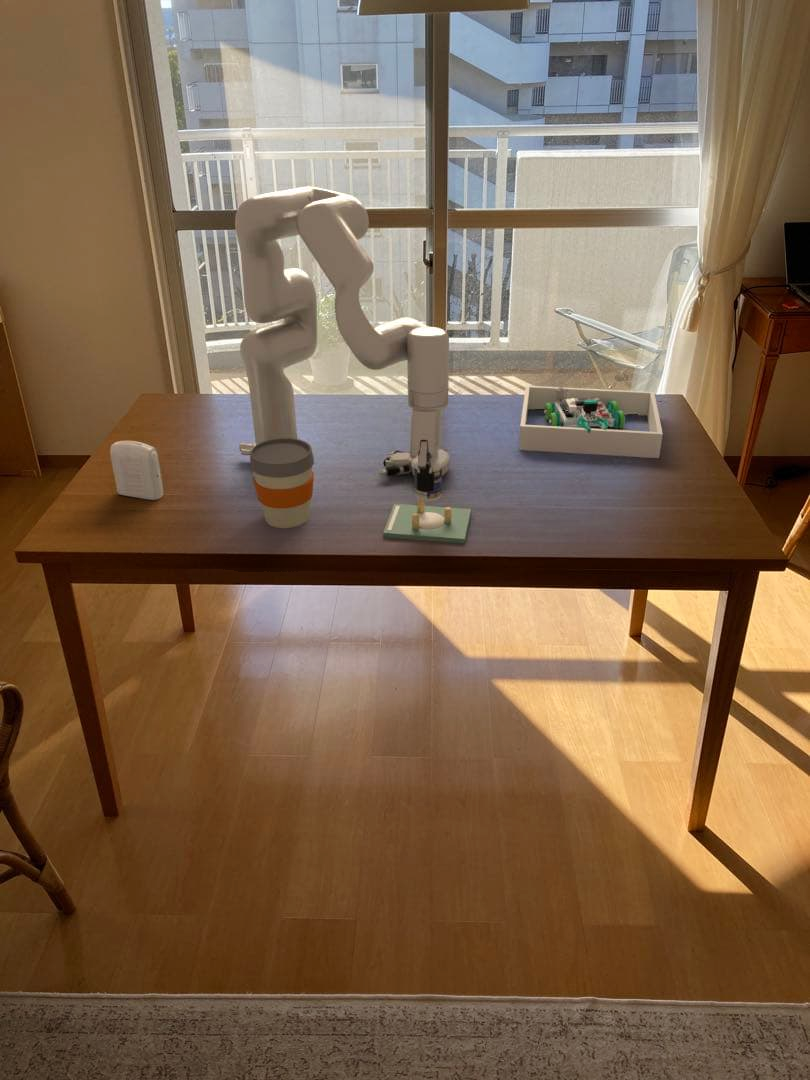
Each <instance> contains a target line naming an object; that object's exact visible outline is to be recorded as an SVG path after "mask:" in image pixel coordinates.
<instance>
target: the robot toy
mask: <svg viewBox="0 0 810 1080" xmlns="http://www.w3.org/2000/svg"><path fill="white" fill-rule="evenodd" d="M451 450H452V447H447V448H446V449H441V448H439V450H438V453H439V457H438V458H439V460H440V461H441V462H442V477H443V476H444V475H445V474H446V473H447V472H448V471H449V469H450V466H451V465H450V462H451V461H450V454H449V453H448V452H447V451H451ZM417 459H418V455H417V457H416V458H414V459H412V458H411V457H410V453H408V452H405V451H401V450H395V451H394V450H393V451H390V452H389V453H388V456H386V458H385V459H384V460H383V467H385V469H384V468H383V469H380V470H379V474H380V476H386V475H387V476H388V477H391V476H392V477H393V476H399V475H400V476H401V475H404V474H406V475H407V474H410V473H412V475H413V476H414V463H415V461H416V460H417Z"/></svg>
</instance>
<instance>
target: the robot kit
mask: <svg viewBox="0 0 810 1080" xmlns="http://www.w3.org/2000/svg"><path fill="white" fill-rule="evenodd" d="M558 387H559V388H558V389H557V390H556V398H557V399H558V400H560V401H561V400H562V403H558V402H556V403H555V404H554V403H552V404H550V403H547V404H546V405H545V410H543V413H544V417H545V419H546V420H547V421H548V423H549V426H557V427H561V425H562V426H563V427H575V428H585V429H587V430H588V432H587V433H591V428H592V427H599V428H600V429H603V430H606V429H608V427H614V428H615V429H617V428H619V429H622V428H624V426H625V423H626V416H625V415H626V414H624V412H623V411H618V404H617V402H616V401H612V402H608V404H607V409H606V407H605V405H604V404H603V402H602V401H600V399H599V398H594V399H593V400H590V399H589V398H571V399H568V398H569V392H568V391H565V390H568V389H564V388H565V387H564V388H563V387H561V386H558ZM566 398H567V399H566ZM559 404H560V405H559ZM562 404H563V405H562ZM561 405H562V406H563V407H562V406H561ZM564 405H565V406H566V407H565V406H564ZM566 409H567V410H568V411H562V410H566Z"/></svg>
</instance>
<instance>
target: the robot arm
mask: <svg viewBox="0 0 810 1080" xmlns="http://www.w3.org/2000/svg"><path fill="white" fill-rule="evenodd" d="M234 224H235V225H234V226H235V227H234V228H235V233H236V238H237V242H238V245H239V250H240V257H241V258H240V259H241V272H242V284H243V285H242V286H243V300H244V308H245V312H246V314H247V316H248V318H249V319H250V320H251V321H252V322H254V323H258V324H267V325H264V326H261V327H257V328H256V329H253V330H251V331H249V332H248V333H247V334H246V335H245V336H244V337H243V338H242V339H241V341H240V346H239V352H240V357H241V361H242V363H243V367H244V370H245V373H246V378H247V383H248V389H249V398H250V405H251V414H252V415H251V416H252V421H253V424H252V425H253V433H254V434H253V435H254V442H253V443H247V442H240V443H239V446H238V449H239V451H240V455H241V456H250V451H251V449H252V448H253V447H254V446H255V445H257V444H259V443H261V442H263V441H266V440H270V439H276V438H294V439H298V427H297V418H296V417H297V415H296V405H295V404H296V402H295V394H294V393H295V392H294V387H293V384H292V383H291V381H290V379H289V378H288V377H287V376H286V375H285V372H284V369H286V368H288V367H291V366H293V365H296V364H299V363H302V362H304V361H306V360H308V359H310V358H312V356H313V355H314V353H315V352H316V350H317V346H318V312H317V311H318V309H317V307H318V306H317V305H318V304H317V302H318V301H317V293H316V289H315V286H314V282H313V281H312V279H311V277H310V276H309V274H308V273H307V272H305V271H304V270H302V269H301V268H298V267H289V268H288V267H287V268H285V257H284V252H283V249H282V247H281V245H280V244H279V242H278V240H281V239H285V238H291V237H296V236H300V238H301V240H302V241H303V242H304V244H305V246H306V247H307V249H308V250H309V252H310V254H311V255H312V256H313V258H314V260H315V261H316V263H317V265H318V266H319V267H320V269H321V271H323V273H324V274H325V276H326V278H327V279H328V280H329V282H330V284H331V285H332V287H333V288H334V292H335V297H334V313H335V319H336V320H335V321H336V325H337V327H338V328H337V329H338V331H339V333H340V335H341V337H342V339H343V341H344V342H345V344H346V345H347V347H348V348H349V350H350V351H351V353H352V355H354V357H355V358H356V360H358V362H359V363H360V364H362V365H363V366H364V367H366V368H367V369H369V370H374V371H378V370H383V369H385V368H388V367H390V366H393V365H395V364H397V363H400V362H401V363H402V362H405V361H407V362H406V363H407V364H406V365H407V405H408V406H409V407H410V408H412V409H411V410H412V411H411V419H410V420H411V421H410V422H411V426H410V449H409V451H410V457H411V458H412V459H414V458H416V457H417V455H418V471H417V490H418V491H430V492H432V491H434V472H433V460H434V459H435V458H436V456H437V453H438V450H439V449H440V447H441V446H440V445H441V443H442V434H443V433H442V432H443V409H445V408H446V407H448V405H449V381H450V380H449V379H450V378H449V377H450V375H449V373H450V372H449V371H450V360H449V359H450V337H449V334H448V332H447V331H446V330H445V329H443V328H441V327H437V326H428V325H426V324H425V323H422V322H420V321H419V320H417V319H415V318H412V317H408V316H403V317H398V318H395V319H393V320H390V321H386V322H383V323H380V324H377V325H375V326H373V324H371V322H370V321H369V320H368V318H367V316H366V314H365V312H364V311H363V309H362V306H361V301H360V291H361V290H360V289H361V288H362V287H363V286H364V285H365V284H366V283H367V282H368V281H369V280H370V278H371V277H372V274H373V273H374V270H375V269H374V263H373V261H372V259H371V258H370V256H369V254H368V253H367V251H366V250H365V249H364V248H363V246H362V244H361V243H360V242H359V240H360V239H361V240H362V238H363V237H364V236H366V234H367V232H368V231H369V225H370V222H369V215H368V212H367V210H366V208H365V205H363V204H362V202H361V201H360V200H358V199H357V198H356V197H354V196H353V195H350V194H347V193H343V192H338V191H334V190H329V189H324V188H320V187H316V186H302V187H296V188H290V189H285V190H276V191H272V192H267V193H263V194H259V195H255V196H252V197H250V198H247V199H246V200H245V201H243V202H241V204H240V205H239V206H238V208H237V210H236V213H235V218H234ZM282 319H283V320H282ZM276 321H277V322H276ZM272 322H275V323H272ZM268 323H271V324H268ZM427 454H430V455H431V457H427ZM438 459H439V458H438ZM427 461H430V464H427Z"/></svg>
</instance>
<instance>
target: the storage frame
mask: <svg viewBox="0 0 810 1080" xmlns="http://www.w3.org/2000/svg"><path fill="white" fill-rule="evenodd" d="M559 387H560V386H542V385H541V386H540V385H539V386H538V385H525V390H524V397H523V402H522V403H523V405H522V409H521V410H522V411H521V418H520V419H521V420H520V424H519V427H520V428H519V440H518V441H519V442H518V450H519V451H533V452H551V453H565V454H581V455H584V454H585V455H601V456H616V457H617V456H618V457H633V458H648V459H649V458H651V459H660V455H661V447H662V442H663V435H664V434H663V428H662V424H661V418H660V413H659V410H658V409H659V408H658V405H657V404H658V403H657V399H656V393H655V391H646V390H645V391H644V390H643V391H642V390H641V391H640V390H624V389H623V390H622V389H621V390H620V389H602V388H601V389H600V388H599V389H598V388H583V387H563V388H564V389H568V390H565V391H568V392H569V398H568V399H571V398H589V399H590V400H593V399H594V398H599V399H600V401H602V402H603V404H604V405H605V407H606V409H607V404H608V402H612V401H616V402H617V404H618V411H623V412H624V413H627V414H626V415H628V414H638V415H637V416H646V417H647V422H648V427H649V431H645V430H643V431H642V430H630V429H629V430H628V429H625V430H623V429H608V428H607V429H606V430H603V428H594V427H593V428H592V427H590V428H591V433H587V432H588V430H587V429H585V428H580V427H564V426H560V427H557V426H550V425H535V424H527V421H528V413H529V410H534V409H545V405H546V404H547V403H550V404H552V403H554V404H555V403H556V402H558V403H562V400H561V401H560V400H558V399H557V398H556V390H557V389H558V388H559ZM566 399H567V398H566ZM559 405H560V404H559ZM562 405H563V404H562ZM562 405H561V406H562ZM564 406H565V405H564ZM562 407H563V406H562ZM565 407H566V406H565ZM566 410H567V409H566Z"/></svg>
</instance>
